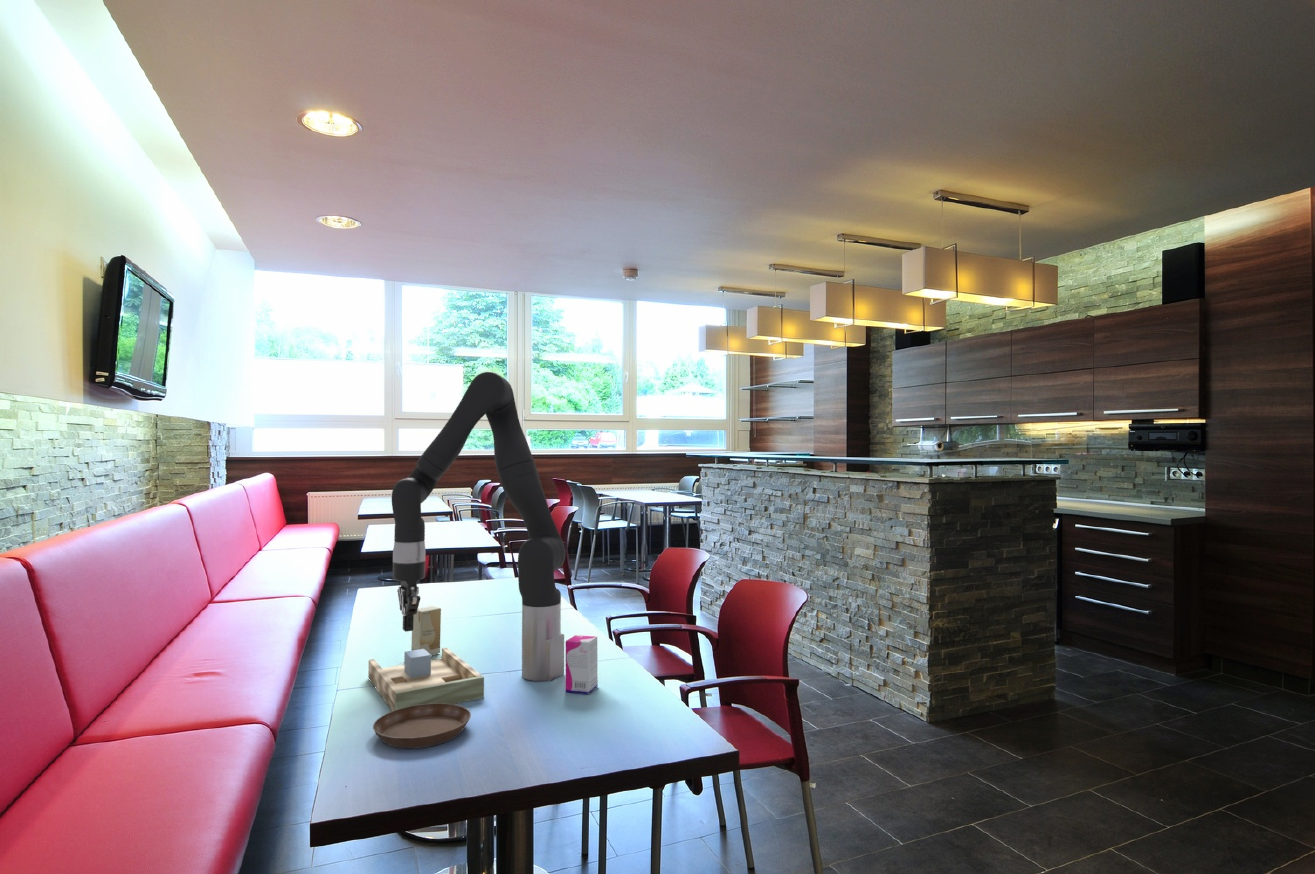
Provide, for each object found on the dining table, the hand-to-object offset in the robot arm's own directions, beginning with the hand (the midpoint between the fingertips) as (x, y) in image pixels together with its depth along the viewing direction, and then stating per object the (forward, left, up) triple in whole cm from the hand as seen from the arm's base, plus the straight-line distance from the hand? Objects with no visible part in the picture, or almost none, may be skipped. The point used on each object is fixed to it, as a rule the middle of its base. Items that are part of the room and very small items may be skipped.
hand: (407, 630), depth 170 cm
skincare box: (+6, -12, -10) cm, 17 cm away
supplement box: (-45, -8, -10) cm, 47 cm away
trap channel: (-12, +7, -10) cm, 17 cm away
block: (-8, +4, -8) cm, 12 cm away
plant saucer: (-31, +26, -10) cm, 42 cm away
